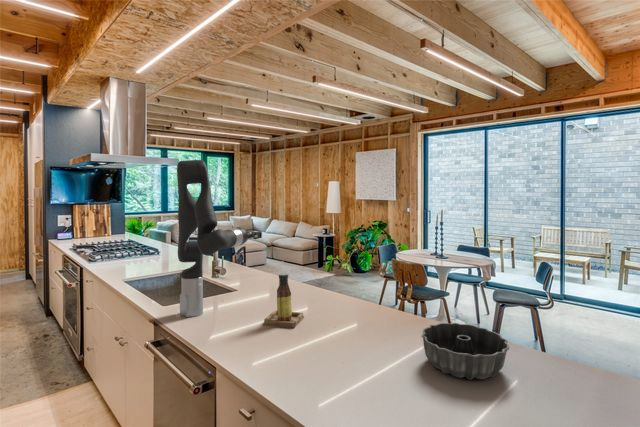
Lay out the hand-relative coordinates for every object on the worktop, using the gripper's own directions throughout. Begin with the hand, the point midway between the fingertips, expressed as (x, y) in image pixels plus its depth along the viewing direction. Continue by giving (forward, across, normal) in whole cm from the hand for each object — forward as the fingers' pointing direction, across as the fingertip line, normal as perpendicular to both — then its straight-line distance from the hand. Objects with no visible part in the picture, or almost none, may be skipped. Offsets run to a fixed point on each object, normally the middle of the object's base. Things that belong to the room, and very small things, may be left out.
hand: (251, 233), depth 165 cm
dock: (-1, -16, +38) cm, 41 cm away
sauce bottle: (-2, -16, +37) cm, 41 cm away
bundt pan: (-26, -87, +38) cm, 98 cm away
